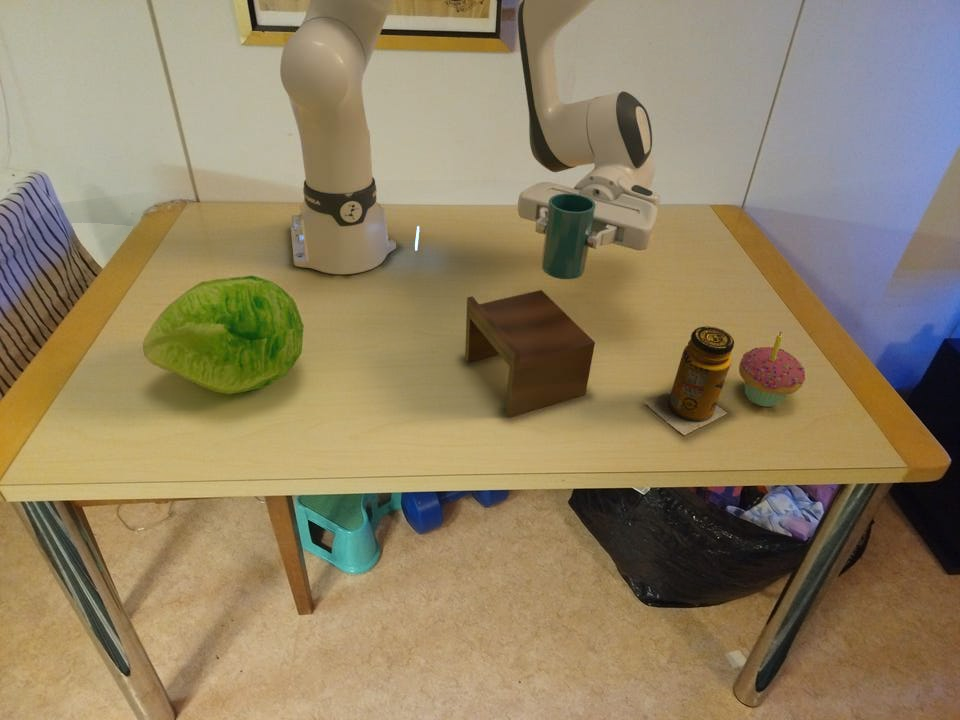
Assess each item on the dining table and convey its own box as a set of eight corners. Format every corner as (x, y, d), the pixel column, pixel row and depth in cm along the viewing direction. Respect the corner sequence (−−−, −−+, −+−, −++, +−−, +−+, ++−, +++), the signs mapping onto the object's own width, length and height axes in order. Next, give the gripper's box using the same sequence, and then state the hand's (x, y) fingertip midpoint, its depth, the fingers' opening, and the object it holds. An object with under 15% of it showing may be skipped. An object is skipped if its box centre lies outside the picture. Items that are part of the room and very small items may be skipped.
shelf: (464, 358, 97) (467, 297, 90) (535, 339, 101) (542, 280, 95) (509, 417, 87) (515, 353, 80) (585, 394, 91) (597, 332, 85)
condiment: (727, 414, 89) (753, 342, 82) (683, 436, 85) (707, 363, 78) (686, 384, 94) (707, 314, 87) (644, 404, 90) (662, 333, 83)
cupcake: (773, 424, 88) (804, 353, 81) (718, 392, 93) (742, 322, 86) (804, 398, 93) (836, 328, 85) (750, 369, 97) (776, 300, 90)
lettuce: (184, 361, 97) (150, 266, 89) (321, 345, 98) (300, 250, 90) (148, 429, 83) (103, 324, 75) (309, 410, 84) (282, 304, 76)
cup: (533, 262, 95) (540, 197, 89) (570, 254, 97) (579, 190, 91) (556, 282, 91) (564, 216, 85) (593, 274, 93) (604, 208, 87)
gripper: (541, 165, 102) (500, 196, 92) (670, 197, 94) (640, 234, 85) (537, 203, 105) (497, 236, 96) (661, 236, 98) (631, 276, 88)
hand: (565, 235), depth 90 cm, fingers closed on cup, 6 cm apart
